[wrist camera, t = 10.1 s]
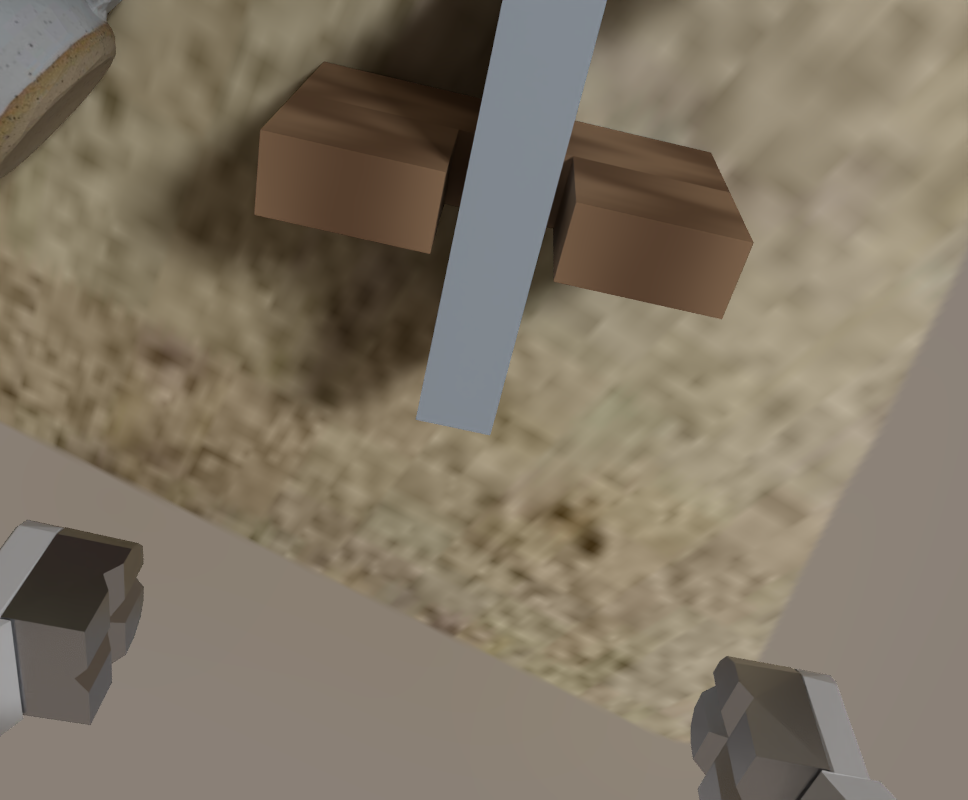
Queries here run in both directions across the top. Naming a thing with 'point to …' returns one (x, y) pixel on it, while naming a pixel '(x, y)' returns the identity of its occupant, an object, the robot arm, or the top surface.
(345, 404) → the top surface
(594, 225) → the walnut board
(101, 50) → the ceramic mug
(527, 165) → the slate board
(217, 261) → the top surface
